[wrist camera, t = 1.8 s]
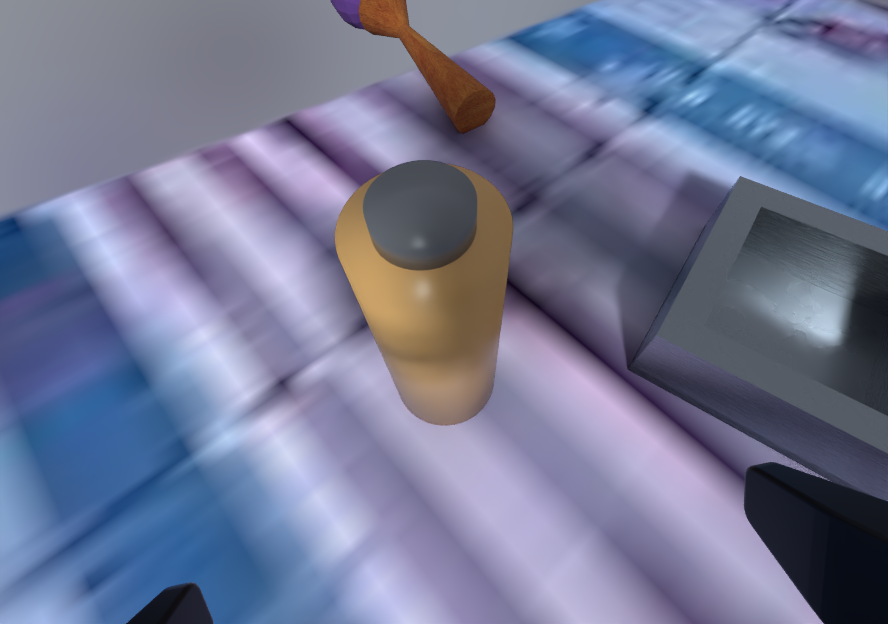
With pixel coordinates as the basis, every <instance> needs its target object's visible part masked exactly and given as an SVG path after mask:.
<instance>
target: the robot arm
mask: <svg viewBox="0 0 888 624" xmlns="http://www.w3.org/2000/svg"><path fill="white" fill-rule="evenodd" d="M744 510H745V514H746V516H747V519H748V521H749V522H750V524H751V526H752V527H753V528H754V530H755V531H756V532H757V534H758V535H759V537H760V538H761V539H762V541H763V542H764V543H765V545H766V546H767V548H768V549H769V550H770V552H771V553H772V554H773V556H774V557H775V559H776V560H777V561H778V563H779V564H780V565H781V567H782V568H783V570H784V571H785V572H786V574H787V575H788V576H789V578H790V579H791V581H792V582H793V583H794V585H795V586H796V588H797V589H798V590H799V592H800V593H801V594H802V596H803V597H804V599H805V600H806V601H807V603H808V604H809V605H810V607H811V608H812V609H813V610H814V612H815V613H816V614H817V616H818V617H819V618H820V620H821V621H822V622H823V623H824V624H888V501H886V500H883V499H880V498H877V497H874V496H871V495H868V494H865V493H863V492H860V491H857V490H854V489H851V488H848V487H845V486H842V485H839V484H836V483H833V482H831V481H828V480H825V479H822V478H819V477H816V476H813V475H810V474H807V473H804V472H801V471H799V470H796V469H793V468H790V467H787V466H784V465H781V464H778V463H774V462H768V463H763V464H759V465H754V466H750V467H749V468H748V469H747V470H746V472H745V490H744ZM126 624H213V619H212V617H211V614H210V612H209V609H208V607H207V604H206V602H205V600H204V597H203V595H202V592H201V590H200V588H199V586H198V585H197V584H195V583H191V582H190V583H185V584H180V585H175V586H171V587H168V588H166V589H164V590H163V591H162V592H161V593H160V594H159V595H158V596H156V597H155V598H154V599H153V600H152V601H151V602H150V603H149V604H148V605H146V606H145V607H144V608H143V609H142V610H141V611H140V612H139V613H138V614H136V615H135V616H134V617H133V618H132V619H131V620H130V621H129V622H128V623H126Z"/></svg>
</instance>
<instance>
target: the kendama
mask: <svg viewBox="0 0 888 624" xmlns="http://www.w3.org/2000/svg"><path fill="white" fill-rule="evenodd" d="M331 3H332V4H333V6H334V7H335V9H336V10H337V12H338V13H339V14H340V16H341V17H342V18H343V20H344V21H345V22H347V23H348V24H350V25H352V26H353V27H355V28H359V29H365V30H367V31H368V32H370V33H372V34H373V35H381V36H387V37H394V38H400V40H401V41H402V43H403V45H404V46H405V48H406V49H407V51H408V53H409V54H410V55H411V57H412V59H413V60H414V62H415V63H416V65H417V67H418V68H419V70H420V72H421V73H422V75H423V76H424V78H425V79H426V81H427V83H428V84H429V86H430V87H431V89H432V91H433V92H434V94H435V95H436V97H437V98H438V100H439V102H440V103H441V105H442V106H443V108H444V110H445V111H446V113H447V114H448V116H449V117H450V119H451V121H452V122H453V124H454V125H455V127H456V129H457V130H458V131H460V132H462V133H466V132H468V131H470V130H472V129H474V128H477V127H479V126H481V125H483V124H485V123H486V121H487V120H488V119H489V118H490V116H491V114H492V112H493V110H494V108H495V97H494V94H493V93H492V92H491V91H490V90H489V89H487V88H486V87H485V86H484V85H482V84H481V83H480V82H479V81H477V80H476V79H475V78H473V77H472V76H471V75H470V74H468V73H467V72H466V71H465V70H463V69H462V68H461V67H460V66H458V65H457V64H456V63H455V62H453V61H452V60H451V59H450V58H448V57H447V56H446V55H445V54H443V53H442V52H441V51H440V50H438V49H437V48H436V47H435V46H433V45H432V44H431V43H429V42H428V41H427V40H426V39H425V38H423V37H422V36H421V35H420V34H418V33H417V32H416V31H415V30H413V29H412V28H411V27H410V26H409V20H408V13H407V5H406V0H331Z"/></svg>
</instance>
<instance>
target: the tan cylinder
mask: <svg viewBox="0 0 888 624" xmlns="http://www.w3.org/2000/svg"><path fill="white" fill-rule="evenodd" d="M512 236H513V220H512V215H511V211H510V209H509V206H508V204H507V202H506V200H505V199H504V197H503V195H502V194H501V193H500V192H499V191H498V189H497V188H496V187H495V186H494V185H493V184H491V183H490V182H489V181H488V180H486V179H485V178H483V177H482V176H480V175H479V174H477V173H475V172H473V171H470V170H468V169H465V168H463V167H459V166H455V165H451V164H446V163H442V162H437V161H429V160H419V161H411V162H406V163H403V164H400V165H397V166H395V167H392V168H390V169H388V170H387V171H385V172H383V173H381V174H379V175H377V176H376V177H374V178H372V179H371V180H369V181H368V182H366V183H365V184H363V185H362V186H361V187H360V188H359V189H358V190H357V191H356V192H355V193H354V194H353V195H352V196H351V197H350V198H349V200H348V201H347V202H346V204H345V205H344V207H343V209H342V211H341V213H340V215H339V218H338V221H337V224H336V230H335V245H336V251H337V254H338V257H339V260H340V262H341V264H342V266H343V269H344V271H345V273H346V275H347V278H348V280H349V282H350V284H351V287H352V289H353V291H354V293H355V296H356V298H357V300H358V302H359V305H360V307H361V309H362V311H363V314H364V316H365V318H366V320H367V323H368V325H369V327H370V329H371V332H372V334H373V336H374V339H375V341H376V343H377V345H378V348H379V350H380V352H381V354H382V357H383V359H384V361H385V363H386V366H387V368H388V370H389V372H390V375H391V377H392V379H393V381H394V384H395V386H396V388H397V390H398V393H399V395H400V397H401V399H402V401H403V403H404V404H405V406H406V407H407V409H408V410H409V411H410V412H411V413H412V414H414V415H415V416H416V417H418V418H419V419H421V420H423V421H425V422H428V423H431V424H435V425H455V424H458V423H462V422H464V421H467V420H468V419H470V418H472V417H474V416H475V415H476V414H477V413H479V412H480V411H481V410H482V409H483V407H484V406H485V405H486V403H487V402H488V400H489V398H490V396H491V393H492V390H493V385H494V377H495V369H496V362H497V354H498V346H499V338H500V330H501V323H502V315H503V307H504V299H505V291H506V283H507V276H508V268H509V260H510V252H511V244H512Z"/></svg>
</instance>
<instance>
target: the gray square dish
mask: <svg viewBox="0 0 888 624" xmlns="http://www.w3.org/2000/svg"><path fill="white" fill-rule="evenodd" d="M628 370H630V371H632V372H634V373H635V374H637V375H639V376H641V377H643V378H645V379H646V380H648V381H650V382H652V383H654V384H655V385H657V386H659V387H661V388H663V389H665V390H666V391H668V392H670V393H672V394H674V395H675V396H677V397H679V398H681V399H683V400H685V401H686V402H688V403H690V404H692V405H694V406H696V407H697V408H699V409H701V410H703V411H705V412H706V413H708V414H710V415H712V416H714V417H716V418H717V419H719V420H721V421H723V422H725V423H726V424H728V425H730V426H732V427H734V428H736V429H737V430H739V431H741V432H743V433H745V434H747V435H748V436H750V437H752V438H754V439H756V440H757V441H759V442H761V443H763V444H765V445H767V446H768V447H770V448H772V449H774V450H776V451H777V452H779V453H781V454H783V455H785V456H787V457H788V458H790V459H792V460H794V461H796V462H798V463H799V464H801V465H803V466H805V467H807V468H808V469H810V470H812V471H814V472H816V473H818V474H819V475H821V476H823V477H825V478H827V479H829V480H830V481H832V482H834V483H836V484H839V485H842V486H845V487H848V488H851V489H854V490H857V491H860V492H863V493H865V494H868V495H871V496H874V497H877V498H880V499H883V500H888V231H885V230H883V229H880V228H877V227H875V226H872V225H869V224H867V223H864V222H861V221H859V220H856V219H853V218H851V217H848V216H845V215H843V214H840V213H837V212H835V211H832V210H829V209H826V208H824V207H821V206H818V205H816V204H813V203H810V202H808V201H805V200H802V199H800V198H797V197H794V196H792V195H789V194H786V193H784V192H781V191H778V190H776V189H773V188H770V187H768V186H765V185H762V184H760V183H757V182H754V181H752V180H749V179H746V178H744V177H741V176H740V177H739V179H738V180H737V181H736V183H735V184H734V186H733V187H732V188H731V190H730V191H729V193H728V194H727V196H726V197H725V198H724V200H723V201H722V203H721V204H720V205H719V207H718V208H717V210H716V211H715V213H714V214H713V215H712V217H711V218H710V220H709V221H708V223H707V224H706V225H705V227H704V229H703V231H702V233H701V234H700V236H699V238H698V240H697V242H696V244H695V246H694V247H693V249H692V251H691V253H690V255H689V257H688V259H687V260H686V262H685V264H684V266H683V268H682V270H681V272H680V273H679V275H678V277H677V279H676V281H675V283H674V285H673V287H672V288H671V290H670V292H669V294H668V296H667V298H666V300H665V301H664V303H663V305H662V307H661V309H660V311H659V313H658V314H657V316H656V318H655V320H654V322H653V324H652V326H651V327H650V329H649V331H648V333H647V335H646V337H645V339H644V340H643V342H642V344H641V346H640V348H639V350H638V352H637V354H636V355H635V357H634V359H633V361H632V363H631V365H630V367H629V368H628Z"/></svg>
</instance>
